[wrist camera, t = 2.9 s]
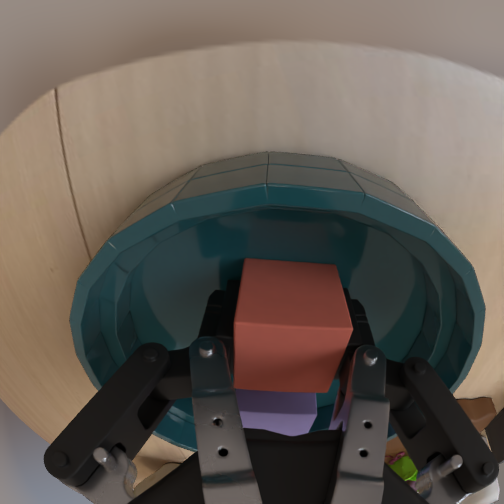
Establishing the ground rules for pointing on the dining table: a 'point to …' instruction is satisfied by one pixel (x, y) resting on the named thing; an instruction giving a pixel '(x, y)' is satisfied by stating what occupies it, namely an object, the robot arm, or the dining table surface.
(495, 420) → the bin
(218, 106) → the dining table surface
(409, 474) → the plant
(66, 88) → the dining table surface
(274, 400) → the lavender foam cube
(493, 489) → the can
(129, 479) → the robot arm
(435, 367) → the bowl
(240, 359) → the salmon red toy brick
